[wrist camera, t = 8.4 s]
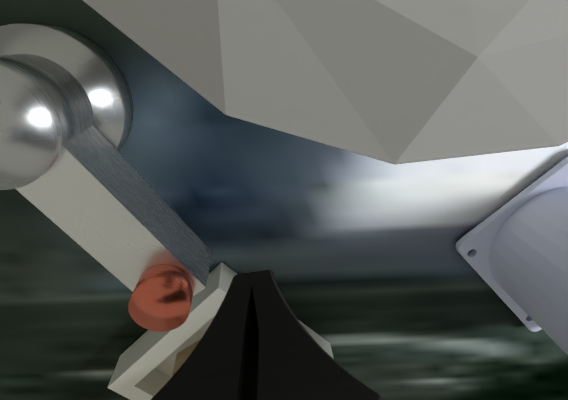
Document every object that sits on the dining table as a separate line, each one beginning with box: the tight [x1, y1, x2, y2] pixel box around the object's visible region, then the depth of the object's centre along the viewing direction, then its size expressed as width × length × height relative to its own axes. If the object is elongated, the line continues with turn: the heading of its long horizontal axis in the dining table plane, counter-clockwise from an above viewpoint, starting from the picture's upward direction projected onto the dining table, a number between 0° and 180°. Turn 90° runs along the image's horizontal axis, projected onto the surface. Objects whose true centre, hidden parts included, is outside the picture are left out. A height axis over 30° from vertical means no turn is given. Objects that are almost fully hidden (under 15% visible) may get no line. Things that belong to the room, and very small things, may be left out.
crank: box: [0, 54, 212, 332], centre depth 14 cm, size 11×4×4 cm, turn 34°
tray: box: [107, 262, 334, 400], centre depth 21 cm, size 9×9×2 cm
